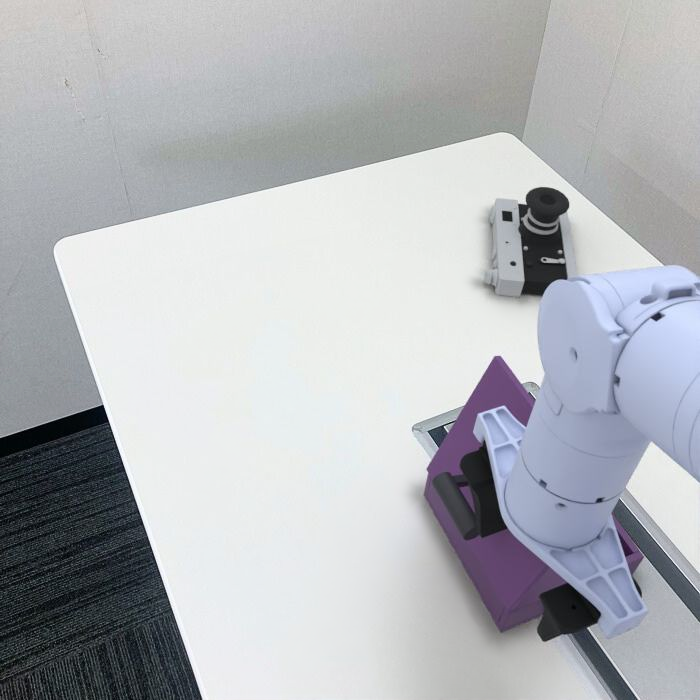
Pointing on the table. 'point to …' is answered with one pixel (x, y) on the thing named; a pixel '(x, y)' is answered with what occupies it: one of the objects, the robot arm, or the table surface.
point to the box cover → (453, 489)
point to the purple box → (502, 618)
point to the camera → (531, 243)
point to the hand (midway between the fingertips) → (521, 578)
